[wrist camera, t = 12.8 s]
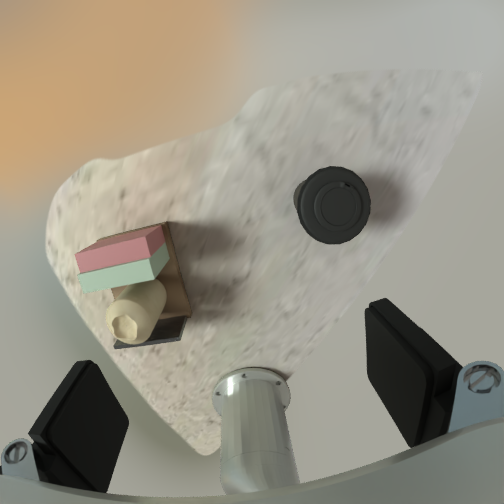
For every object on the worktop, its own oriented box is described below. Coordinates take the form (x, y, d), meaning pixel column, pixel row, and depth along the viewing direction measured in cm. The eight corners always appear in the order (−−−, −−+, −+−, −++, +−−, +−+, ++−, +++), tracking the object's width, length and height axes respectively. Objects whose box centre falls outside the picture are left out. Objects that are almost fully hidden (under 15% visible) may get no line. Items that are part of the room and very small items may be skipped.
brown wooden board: (191, 312, 41) (190, 317, 40) (128, 323, 41) (125, 327, 40) (167, 221, 38) (164, 223, 36) (100, 238, 38) (96, 240, 36)
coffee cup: (338, 164, 37) (371, 162, 28) (345, 224, 39) (378, 240, 30) (278, 172, 37) (293, 170, 28) (287, 234, 39) (305, 253, 30)
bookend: (187, 318, 40) (180, 340, 34) (128, 327, 40) (114, 349, 34) (186, 314, 40) (179, 336, 34) (127, 324, 40) (113, 345, 34)
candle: (175, 297, 39) (159, 334, 29) (147, 319, 39) (126, 359, 30) (148, 266, 38) (122, 295, 28) (121, 290, 38) (91, 322, 29)
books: (169, 258, 38) (154, 279, 30) (108, 271, 38) (83, 293, 30) (161, 225, 36) (143, 238, 29) (99, 240, 36) (71, 256, 29)
